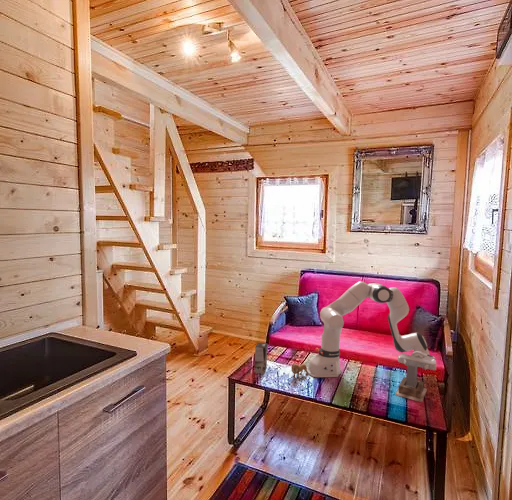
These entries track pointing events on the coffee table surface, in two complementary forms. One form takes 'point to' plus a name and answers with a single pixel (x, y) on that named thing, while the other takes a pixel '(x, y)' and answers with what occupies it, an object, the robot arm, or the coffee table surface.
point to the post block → (411, 391)
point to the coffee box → (260, 358)
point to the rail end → (412, 375)
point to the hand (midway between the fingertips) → (414, 366)
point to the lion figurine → (299, 369)
